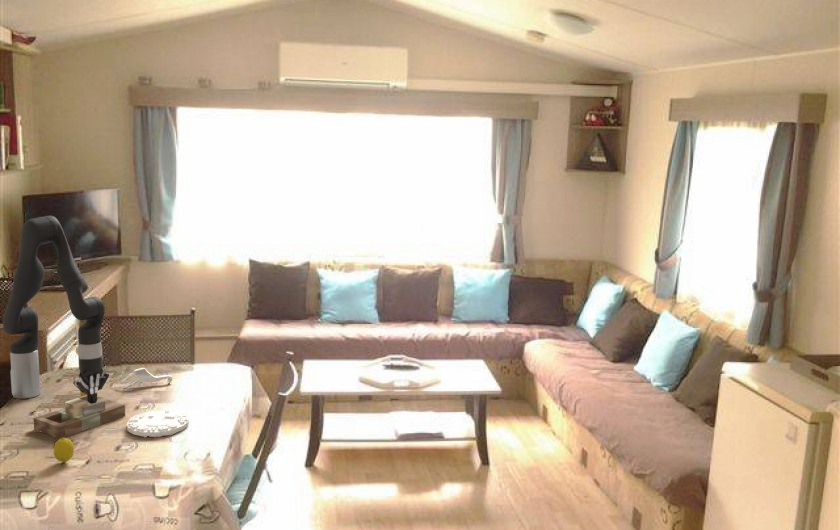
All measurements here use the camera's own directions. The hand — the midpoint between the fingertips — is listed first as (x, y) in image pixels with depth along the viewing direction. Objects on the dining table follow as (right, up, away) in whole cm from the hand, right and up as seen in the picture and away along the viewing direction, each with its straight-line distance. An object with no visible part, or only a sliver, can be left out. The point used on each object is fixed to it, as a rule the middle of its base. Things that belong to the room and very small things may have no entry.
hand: (92, 403), depth 260 cm
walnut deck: (-3, -6, -3) cm, 7 cm away
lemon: (+6, -12, -34) cm, 37 cm away
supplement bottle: (-7, -3, +14) cm, 16 cm away
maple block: (-3, -2, -5) cm, 7 cm away
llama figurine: (+6, 0, +36) cm, 36 cm away
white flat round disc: (+24, -8, -4) cm, 26 cm away
